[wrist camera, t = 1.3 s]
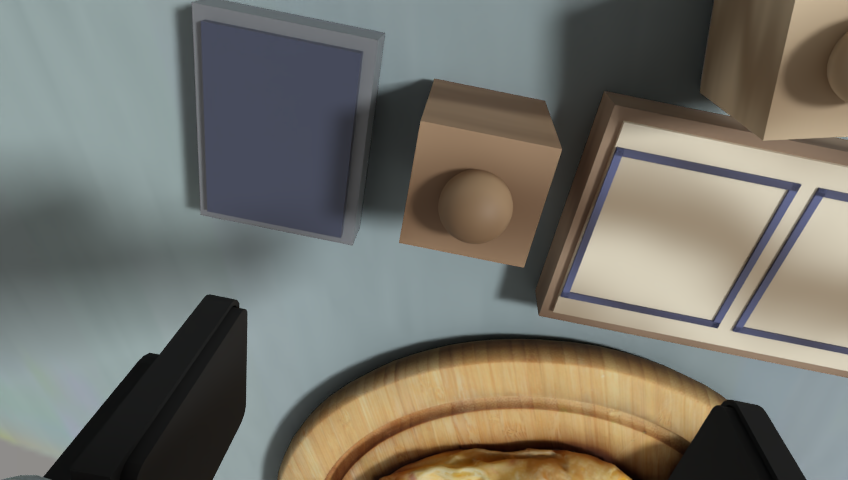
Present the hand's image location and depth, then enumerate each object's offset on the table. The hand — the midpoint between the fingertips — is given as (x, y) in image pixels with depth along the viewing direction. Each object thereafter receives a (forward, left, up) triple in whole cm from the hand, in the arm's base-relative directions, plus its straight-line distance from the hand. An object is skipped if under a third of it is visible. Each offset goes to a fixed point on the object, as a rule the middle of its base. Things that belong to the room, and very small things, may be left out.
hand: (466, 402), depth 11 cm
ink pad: (+1, -8, -15) cm, 17 cm away
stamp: (0, 0, -15) cm, 15 cm away
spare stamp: (-7, +9, -15) cm, 19 cm away
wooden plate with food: (+25, +8, -15) cm, 30 cm away
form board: (+2, +12, -15) cm, 19 cm away
